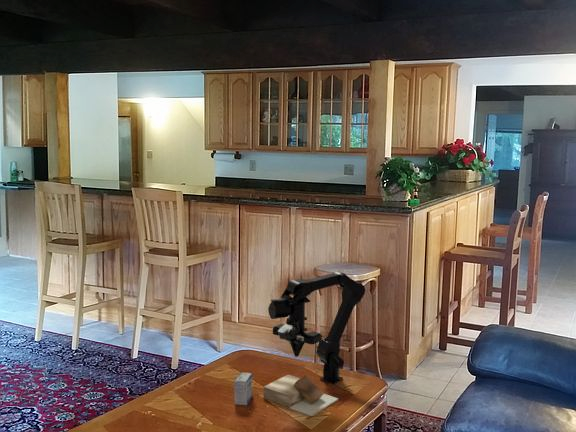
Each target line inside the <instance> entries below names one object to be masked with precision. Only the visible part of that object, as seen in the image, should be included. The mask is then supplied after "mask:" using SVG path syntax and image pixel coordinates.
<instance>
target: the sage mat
mask: <svg viewBox="0 0 576 432" xmlns="http://www.w3.org/2000/svg"><path fill="white" fill-rule="evenodd" d="M338 401H339V398H338V397H335V396H332V395H329V394H325V393H324V394H323V395H322V397H321V398H320V399H318V400H317V401H316V402H314V403H313V404H312V405H311V404H310V403H309V402H308V401H307V400H306V399H303V400H302V401H300V402H298V403H296V404H295V405H293V406H291V407H289V408H290V410H293V411H296V412H298V413H301V414H304V415H307V416H310V417H313V416H315V415H316V414H318V413H319V412H321V411H323V410H325V409H326V408H328V407H329V406H331V405H333V404H334V403H336V402H338Z"/></svg>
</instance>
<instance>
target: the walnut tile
mask: <svg viewBox="0 0 576 432" xmlns="http://www.w3.org/2000/svg"><path fill="white" fill-rule="evenodd" d="M299 378H300V379H299V380H297V381H296V382H295V384H294V385H293V386H294V387H295V388H296V389H297V390H298V392H299V393H300V394H301V395H302V396H303V397H304V398H305V399H306V400H307V401H308V402H309V403H310V404H311V405H312V404H313V403H314V402H316V401H317V400H318V399H320V398H321V397H322V395H323V394H325V392H323V391H322V390H321V388H319V387H318V385H316V384H315V382H313V381H312V380H311V379H310V377H308V376H307V375H306V374H304V375H303V376H302V377H299Z"/></svg>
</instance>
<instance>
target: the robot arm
mask: <svg viewBox="0 0 576 432" xmlns="http://www.w3.org/2000/svg"><path fill="white" fill-rule="evenodd" d="M336 285H338V286H339V287H341V288H342V291H341V303H340V306H339V308H338V311H337V313H336V316H335V318H334V320H333V323H332V325H331V327H330V330H329V331H328V335H327V336H325V338H324V339H323V336H322V334H321V333H320V332H316V331H310V332H307V331H308V330H307V329H308V328H307V327H305V325H306V323H305V322H306V321H307V319H308V316H306V310H305V309H306V307H305V305H306V303H310V302H311V300H310V299H308V296H310V295H311V294H312V293H313V292H315V291H319V290H322V289H326V288H330V287H333V286H336ZM365 294H366V288H365V285H364V284H363V283H361V282H358V281H355V280H354V279H352V278H351V277H349V276H348V275H347V274H346V273H344V272H341V271H338V270H337V271H335V272H332V273H329V274H324V275H321V276H316V277H313V278H308V279H303V278H297V279H291V280H289V281H288V283H287V285H286V287H285V289H284V291H283V293H282V294H281V296H280V298H278V299H275V298H274V299H271V300H270V302H271V303H269V305H268V309H267V311H268V315H269V318H270V319H271V320H275V319H276V320H277V319H283V318H286V319H285V323H279V324H277V325H274V326H273V328H272V335H274V336H279V339H280V340H284V341H287V342H289V344H290V346H291V349H292V352H293V354H294V357H296V358H297V357H299V356H300V353H301V351H302V349H303V348H304V345H305V344H308V345H315V344H317V343H318V344H317V345H316V355H317V358H319V360H320V362H321V363H323V371H322V372H323V373H322V375H323V376H322V377H320V379H319V380H320V381H322V382H326V383H328V384H333V385H335V384H336V383H339V382H341V381H342V380H343V379H344V377H342V376H340V374H341V373H340V368H342V367H344V364H345V360H344V359H342V358H341V357H340V352H341V339H342V337H343V335H344V332H345V329H346V328H347V325H348V322H349V320H350V317H351V316H352V313H353V310H354V308H355V306H356V305H357V304H359V303H360V302H361V301H362V299H363V298H364V296H365Z"/></svg>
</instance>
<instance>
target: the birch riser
mask: <svg viewBox="0 0 576 432" xmlns="http://www.w3.org/2000/svg"><path fill="white" fill-rule="evenodd" d="M300 378H301V377H297V376H295V375H291V374H286V375H285V376H282V377H280V378H278V379H276V380H274V381H273V382H270V383H269V384H267V385H264V386H263V399H267V400H269V401H272V402H275V403H278V404H281V405H284V406H286V407H289V408H290V407H292V406H293V405H295V404H297V403H299V402H300V401H302V400H304V399H305V398H304V397H303V396H302V395H301V394H300V393H299V392H298V390H297V389H296V388H295V387H294V386H293V385H294V384H295V382H296V381H297V380H299V379H300Z"/></svg>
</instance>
